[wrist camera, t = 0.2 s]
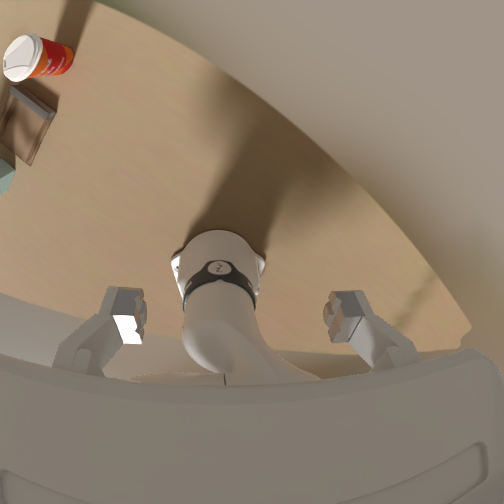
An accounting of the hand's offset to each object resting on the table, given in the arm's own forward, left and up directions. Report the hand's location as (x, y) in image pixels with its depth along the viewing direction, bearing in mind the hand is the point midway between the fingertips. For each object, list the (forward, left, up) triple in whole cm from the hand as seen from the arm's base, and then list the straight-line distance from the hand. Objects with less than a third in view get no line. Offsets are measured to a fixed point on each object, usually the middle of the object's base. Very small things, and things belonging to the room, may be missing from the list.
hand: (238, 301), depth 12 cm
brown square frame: (+7, +40, -39) cm, 56 cm away
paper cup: (+18, +31, -40) cm, 53 cm away
